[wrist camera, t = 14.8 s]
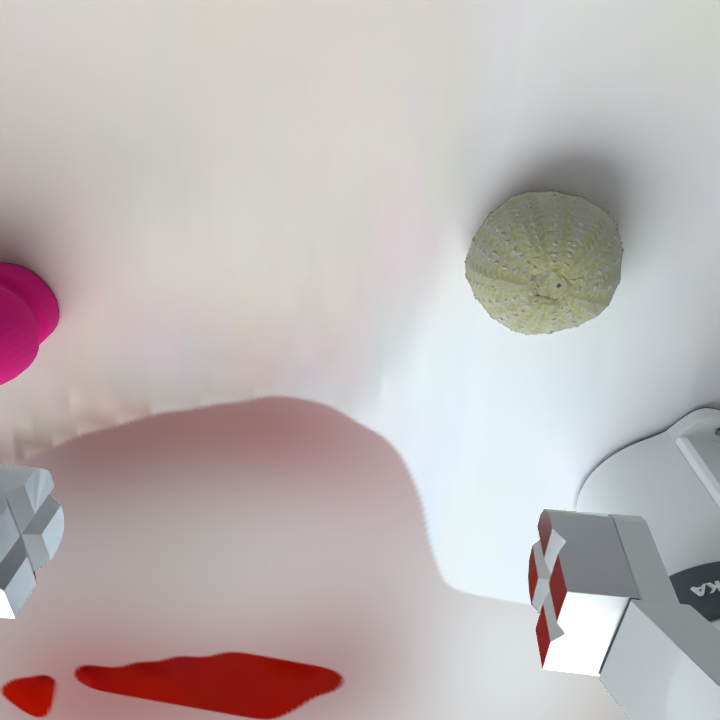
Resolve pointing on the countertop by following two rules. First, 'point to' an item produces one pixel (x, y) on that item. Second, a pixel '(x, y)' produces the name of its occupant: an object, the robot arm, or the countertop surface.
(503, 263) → the sea urchin shell
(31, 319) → the pepper mill
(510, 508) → the countertop surface
